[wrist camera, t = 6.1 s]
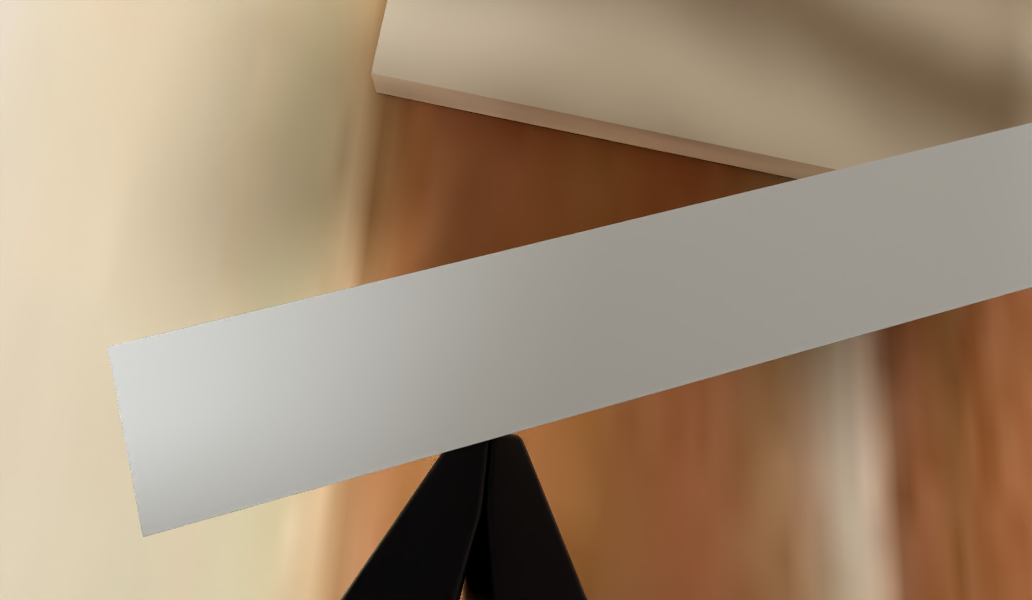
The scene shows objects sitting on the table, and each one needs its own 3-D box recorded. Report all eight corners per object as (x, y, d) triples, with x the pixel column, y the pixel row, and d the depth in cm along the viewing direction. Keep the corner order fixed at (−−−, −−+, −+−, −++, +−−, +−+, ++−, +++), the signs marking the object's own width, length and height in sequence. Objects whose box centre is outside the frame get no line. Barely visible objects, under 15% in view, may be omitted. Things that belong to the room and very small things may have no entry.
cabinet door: (1004, 270, 17) (1987, 40, 6) (374, 444, 15) (149, 570, 4) (983, 213, 17) (1895, -108, 6) (358, 377, 15) (100, 317, 4)
